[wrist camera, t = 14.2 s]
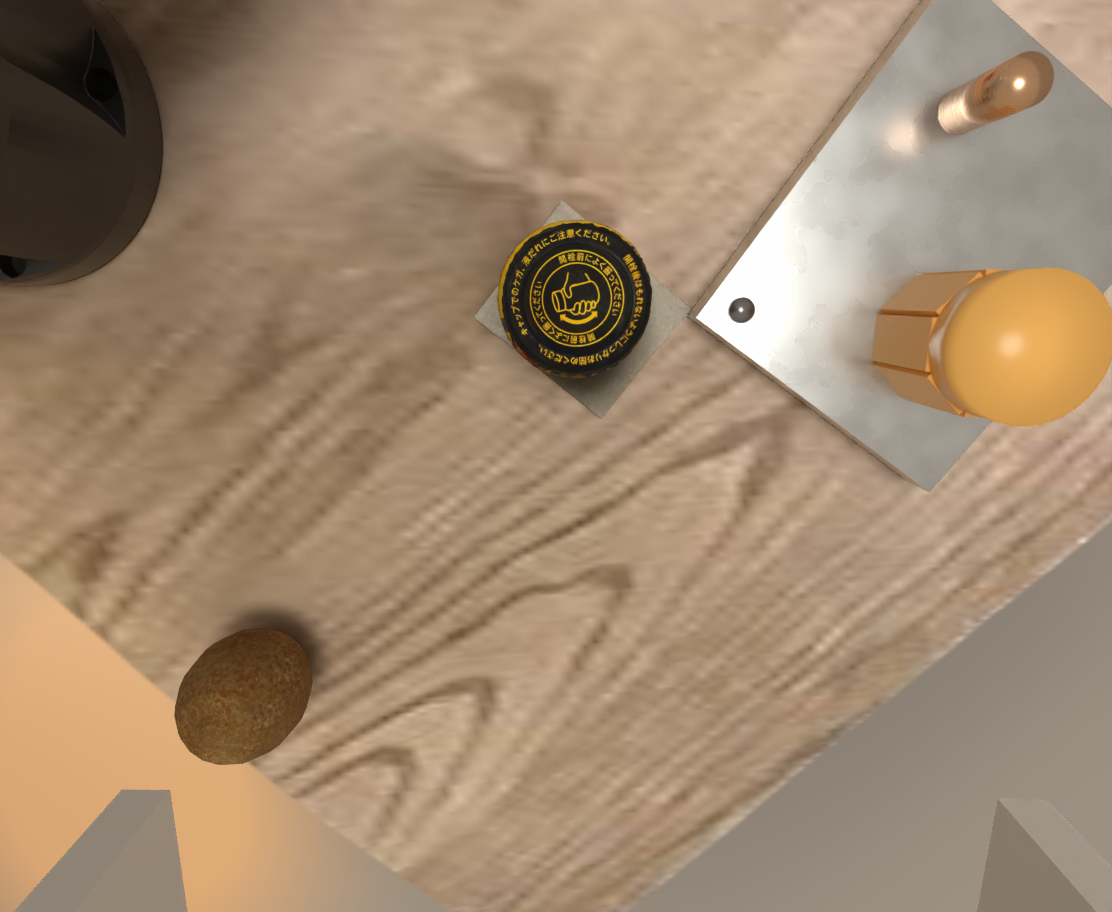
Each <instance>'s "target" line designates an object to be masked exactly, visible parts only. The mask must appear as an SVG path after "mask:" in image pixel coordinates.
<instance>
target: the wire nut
mask: <svg viewBox="0 0 1112 912" xmlns="http://www.w3.org/2000/svg"><path fill="white" fill-rule="evenodd" d="M880 310H881V311H882V312H883V314H877V317H876V326H875V335H874V344H873V352H872V361H877V362H876V363H875V364H874V365H873V366H874V367H875V368H876V369H877V371H878V372H879V373H880V374H881V375H882V376H883V377H884V379H885V380H886V381H887V382H888V383H889V384H890V385H891V387H892V388H893V389H894V390H895V391H896V392H897V393H898V394H899V396H900V397H901V398H904V399H906V400H909V401H912V402H916V403H919V404H922V405H925V406H929V407H932V408H935V409H939V410H942V411H945V412H949V413H952V414H955V415H959V416H962V417H982V418H985V419H988V420H992V421H995V422H999V423H1002V424H1007V425H1012V426H1034V425H1040V424H1044V423H1048V422H1051V421H1054V420H1056V419H1058V418H1061V417H1063V416H1064V415H1066V414H1068V413H1070V412H1071V411H1073V410H1074V409H1076V408H1077V407H1078V406H1080V405H1081V404H1082V403H1083V402H1084V401H1085V400H1086V399H1087V398H1088V397H1089V396H1090V395H1091V394H1092V393H1093V392H1094V391H1095V389H1096V388H1097V387H1098V385H1099V384H1100V382H1101V381H1102V379H1103V378H1104V376H1105V374H1106V372H1107V370H1108V367H1109V365H1110V362H1111V360H1112V311H1111V308H1110V306H1109V304H1108V302H1107V300H1106V298H1105V297H1104V295H1103V294H1102V292H1101V291H1100V290H1099V289H1098V288H1097V287H1096V286H1095V285H1094V284H1093V283H1092V282H1090V281H1089V280H1088V279H1086V278H1084V277H1083V276H1081V275H1079V274H1077V273H1074V272H1072V271H1069V270H1064V269H1060V268H1034V269H1017V270H995V269H985V270H969V271H953V272H936V273H922V275H917V276H915V277H914V278H913V279H912V280H911V281H910V282H909V283H908V284H907V285H905V286H904V287H903V288H902V289H901V290H900V291H899V292H898V293H897V294H895V295H894V296H893V297H892V298H891V299H890V300H889V301H888V302H887V303H886V304H884V305H883V306H882V307H881V308H880Z"/></svg>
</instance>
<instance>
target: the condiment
mask: <svg viewBox="0 0 1112 912" xmlns="http://www.w3.org/2000/svg"><path fill="white" fill-rule="evenodd" d="M642 260H643V259H642V258H641V257H640V255H639V253H638V252H637V250H636V249H635V247H634V246H633V245H632V244H631V242H629V241H628V240H626V239H625V238H624V237H623V236H622V235H620V234H619V233H618V232H616V231H615V230H613V229H611V228H610V227H608V226H604V225H601V224H598V223H594V222H590V221H586V220H585V219H584V218H583V217H582V216H580V215H579V214H578V213H577V212H576V211H575V210H573V209H572V208H571V207H570V206H569V205H568V204H566V203H565V202H564V201H563V200H562V201H561V202H560V204H559V205H558V206H557V208H556V209H555V210H554V212H553V213H552V214H551V216H550V217H549V218H548V219H547V221H546V222H545V224H544V225H543V226H542V228H540V229H538V230H536V231H534V232H533V233H531V234H530V235H529V236H528V237H527V238H526V239H525V240H523V241H522V242H521V243H520V244H519V245H518V246H517V247H516V248H515V249H514V250H513V251H512V253H511V255H510V256H509V258H508V260H507V263H506V264H505V266H504V268H503V271H502V273H501V275H500V282H499V285H498V286H497V287H496V288H495V290H494V291H493V293H492V294H491V295H490V297H489V298H488V299H487V300H486V302H485V303H484V304H483V306H482V307H481V308H480V310H479V311H478V312H477V314H476V315H475V316H474V318H475V319H477V320H478V321H479V322H480V323H482V324H483V325H484V326H485V327H487V328H488V329H489V330H491V331H492V332H493V333H494V334H496V335H497V336H498V337H499V338H501V339H502V340H503V341H504V342H506V343H507V344H508V345H509V346H511V347H512V348H513V349H515V350H516V351H517V352H518V353H519V354H520V355H522V356H523V357H524V358H525V359H526V360H527V361H528V362H530V363H531V364H532V365H533V366H535V367H537V368H538V369H539V370H541V371H542V372H543V373H544V374H546V375H547V376H548V377H549V378H551V379H552V380H553V381H555V382H556V383H557V384H558V385H560V386H561V387H562V388H563V389H564V390H566V391H567V392H568V393H570V394H571V395H572V396H573V397H575V398H576V399H577V400H578V401H580V402H581V403H582V404H583V405H585V406H586V407H587V408H588V409H589V410H591V411H592V412H593V413H595V414H596V415H597V416H598V417H600V418H602V417H603V416H604V415H605V413H606V412H607V411H608V410H609V408H610V407H611V406H612V404H613V403H614V402H615V401H616V400H617V398H618V397H619V396H620V395H621V393H622V392H623V391H624V390H625V388H626V387H627V386H628V385H629V384H630V382H631V381H632V380H633V379H634V377H635V376H636V375H637V373H638V372H639V371H640V370H641V369H642V368H643V366H644V365H645V364H646V363H647V362H648V360H649V359H650V358H651V356H652V355H653V354H654V353H655V352H656V351H657V349H658V348H659V347H660V346H661V344H662V343H663V342H664V341H665V340H666V339H667V337H668V336H669V335H670V334H671V332H672V331H673V330H674V329H675V327H676V326H677V325H678V324H679V323H680V322H681V320H682V319H683V318H684V317H685V316H686V314H687V313H688V312H689V311H690V309H691V308H690V307H689V306H687V305H686V304H685V303H684V302H683V301H682V300H680V299H679V298H678V297H677V296H676V295H674V294H673V293H672V292H671V291H670V290H668V289H667V288H666V287H665V286H664V285H663V284H662V283H660V282H659V281H658V280H656V279H655V278H654V277H653V276H652V275H651V274H650V273H648V272H647V270H646V267H645V264H644V262H643V261H642Z"/></svg>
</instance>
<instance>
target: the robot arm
mask: <svg viewBox="0 0 1112 912" xmlns="http://www.w3.org/2000/svg"><path fill="white" fill-rule="evenodd" d="M161 156H162V138H161V126H160V119H159V113H158V108H157V103H156V100H155V96H154V92H153V89H152V86H151V83H150V80H149V78H148V75H147V73H146V70H145V68H144V66H143V64H142V62H141V60H140V58H139V56H138V54H137V52H136V50H135V48H134V47H133V45H132V43H131V41H130V40H129V38H128V37H127V35H126V34H125V32H124V31H123V29H122V28H121V27H120V26H119V24H118V23H117V22H116V20H115V19H114V18H113V17H112V15H111V14H110V13H109V12H108V11H107V10H106V9H105V8H104V7H103V6H102V5H101V3H100V2H99V1H98V0H0V285H16V286H41V285H52V284H57V283H62V282H66V281H70V280H73V279H76V278H79V277H82V276H84V275H86V274H88V273H90V272H92V271H94V270H96V269H98V268H100V267H101V266H103V265H104V264H106V263H107V262H108V261H110V260H111V259H112V258H114V257H115V256H116V255H117V254H118V253H119V252H120V251H121V250H122V249H123V248H124V247H125V246H126V245H127V244H128V243H129V242H130V240H131V239H132V238H133V237H134V235H135V234H136V232H137V231H138V230H139V228H140V226H141V225H142V223H143V221H144V220H145V217H146V215H147V213H148V211H149V209H150V207H151V204H152V201H153V199H154V195H155V192H156V189H157V184H158V180H159V175H160V168H161ZM14 912H187V907H186V899H185V892H184V886H183V878H182V871H181V864H180V857H179V851H178V843H177V836H176V829H175V822H174V815H173V809H172V801H171V794H170V790H121V791H120V793H119V794H118V795H117V796H116V797H115V798H114V799H113V801H112V802H111V803H110V804H109V805H108V806H107V807H106V808H105V810H104V811H103V812H102V813H101V814H100V815H99V817H97V819H96V820H95V821H94V822H93V823H92V824H91V825H90V826H89V828H88V829H87V830H86V831H85V832H84V833H83V835H82V836H81V837H80V838H79V839H78V840H77V841H76V842H75V843H74V844H73V846H72V847H71V848H70V849H69V850H68V851H67V852H66V854H65V855H64V856H63V857H62V858H61V859H60V860H59V861H58V863H57V864H56V865H55V866H54V867H53V868H52V869H51V870H50V872H49V873H48V874H47V875H46V876H45V877H44V878H43V879H42V881H41V882H40V883H39V884H38V885H37V886H36V887H35V888H34V890H33V891H32V892H31V893H30V894H29V895H28V896H27V898H26V899H25V900H24V901H23V902H22V903H21V904H20V906H19V907H18V908H17V909H16V910H15V911H14ZM977 912H1112V867H1111V866H1110V865H1109V864H1108V863H1107V862H1106V861H1105V860H1104V859H1103V858H1102V857H1101V856H1100V855H1099V854H1098V853H1097V851H1096V850H1095V849H1094V848H1093V847H1092V846H1091V845H1090V844H1089V843H1088V842H1087V841H1086V840H1085V839H1084V838H1083V837H1082V836H1081V835H1080V834H1079V833H1078V832H1077V831H1076V830H1075V829H1074V827H1072V826H1071V824H1070V823H1068V821H1067V820H1066V819H1065V818H1064V817H1063V816H1062V815H1061V814H1060V813H1059V812H1058V811H1057V810H1056V809H1055V808H1054V807H1053V806H1052V805H1051V804H1050V803H1049V802H1048V801H1047V800H1046V799H998V800H997V806H996V811H995V817H994V822H993V828H992V834H991V839H990V844H989V850H988V856H987V861H986V866H985V872H984V877H983V883H982V888H981V894H980V899H979V905H978V910H977Z"/></svg>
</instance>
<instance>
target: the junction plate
mask: <svg viewBox="0 0 1112 912" xmlns="http://www.w3.org/2000/svg"><path fill="white" fill-rule="evenodd" d="M1034 268H1060V269H1064V270H1069V271H1072V272H1074V273H1077V274H1079V275H1081V276H1083V277H1084V278H1086V279H1088V280H1089V281H1090V282H1092V283H1093V284H1094V285H1095V286H1096V287H1097V288H1098V289H1099V290H1100V291H1101V292H1102V294H1103V293H1104V292H1105V291H1106V290H1107V289H1108V288H1109V287H1110V285H1111V284H1112V107H1110V106H1109V105H1108V104H1107V103H1106V102H1105V101H1104V100H1103V99H1101V98H1100V97H1099V96H1098V95H1097V94H1096V93H1095V92H1094V91H1092V90H1091V89H1090V88H1089V87H1088V86H1087V85H1086V84H1085V83H1083V82H1082V81H1081V80H1080V79H1079V78H1078V77H1077V76H1076V75H1074V74H1073V73H1072V72H1071V71H1070V70H1069V69H1068V68H1067V67H1065V66H1064V65H1063V64H1062V63H1061V62H1060V61H1059V60H1058V59H1056V58H1055V57H1054V56H1053V55H1052V54H1051V53H1050V52H1049V51H1047V50H1046V49H1045V48H1044V47H1043V46H1042V45H1041V44H1040V43H1038V42H1037V41H1036V40H1035V39H1034V38H1033V37H1032V36H1031V35H1029V34H1028V33H1027V32H1026V31H1025V30H1024V29H1023V28H1022V27H1020V26H1019V25H1018V24H1017V23H1016V22H1015V21H1014V20H1013V19H1011V18H1010V17H1009V16H1008V15H1007V14H1006V13H1005V12H1004V11H1002V10H1001V9H1000V8H999V7H998V6H997V5H996V4H995V3H993V2H992V1H991V0H921V1H920V3H919V4H918V5H917V7H916V8H915V9H914V11H913V12H912V14H911V15H910V16H909V18H908V19H907V20H906V22H905V23H904V24H903V26H902V27H901V28H900V30H899V31H898V32H897V34H896V35H895V36H894V38H893V39H892V41H891V42H890V43H889V45H888V46H887V47H886V49H885V50H884V51H883V53H882V54H881V55H880V57H879V58H878V59H877V61H876V62H875V63H874V65H873V66H872V67H871V69H870V70H869V72H868V73H867V74H866V76H865V77H864V78H863V80H862V81H861V82H860V84H859V85H858V86H857V88H856V89H855V90H854V92H853V93H852V94H851V96H850V97H849V99H848V100H847V101H846V103H845V104H844V105H843V107H842V108H841V109H840V111H839V112H838V113H837V115H836V116H835V117H834V119H833V120H832V121H831V123H830V124H829V125H828V127H827V128H826V130H825V131H824V132H823V134H822V135H821V136H820V138H819V139H818V140H817V142H816V143H815V144H814V146H813V147H812V148H811V150H810V151H809V152H808V154H807V155H806V157H805V158H804V159H803V161H802V162H801V163H800V165H799V166H798V167H797V169H796V170H795V171H794V173H793V174H792V175H791V177H790V178H789V179H788V181H787V182H786V183H785V185H784V186H783V188H782V189H781V190H780V192H779V193H778V194H777V196H776V197H775V198H774V200H773V201H772V202H771V204H770V205H769V206H768V208H767V209H766V210H765V212H764V213H763V215H762V216H761V217H760V219H759V220H758V221H757V223H756V224H755V225H754V227H753V228H752V229H751V231H750V232H749V233H748V235H747V236H746V237H745V239H744V240H743V241H742V243H741V244H740V246H739V247H738V248H737V250H736V251H735V252H734V254H733V255H732V256H731V258H730V259H729V260H728V262H727V263H726V264H725V266H724V267H723V268H722V270H721V271H720V273H719V274H718V275H717V277H716V278H715V279H714V281H713V282H712V283H711V285H710V286H709V287H708V289H707V290H706V291H705V293H704V294H703V295H702V297H701V298H700V299H699V301H698V302H697V304H696V305H695V306H694V308H693V309H692V310H691V312H690V313H689V314H688V317H689V318H690V319H692V320H693V321H694V322H696V323H697V324H698V325H700V326H701V327H702V328H704V329H705V330H706V331H708V332H709V333H710V334H712V335H713V336H714V337H716V338H717V339H718V340H720V341H721V342H722V343H724V344H725V345H726V346H728V347H729V348H730V349H732V350H733V351H734V352H736V353H737V354H738V355H740V356H741V357H742V358H744V359H745V360H746V361H748V362H749V363H750V364H752V365H753V366H754V367H756V368H757V369H758V370H760V371H761V372H762V373H764V374H765V375H766V376H768V377H769V378H770V379H772V380H773V381H774V382H776V383H777V384H778V385H780V386H781V387H782V388H784V389H785V390H786V391H788V392H789V393H790V394H792V395H793V396H794V397H796V398H797V399H798V400H800V401H801V402H802V403H804V404H805V405H806V406H808V407H809V408H810V409H812V410H813V411H814V412H816V413H817V414H818V415H820V416H821V417H822V418H824V419H825V420H826V421H828V422H829V423H830V424H832V425H833V426H834V427H836V428H837V429H838V430H840V431H841V432H842V433H844V434H845V435H846V436H848V437H849V438H850V439H852V440H853V441H854V442H856V443H857V444H858V445H860V446H861V447H862V448H864V449H865V450H866V451H868V452H869V453H870V454H872V455H873V456H874V457H876V458H877V459H878V460H880V461H881V462H882V463H884V464H885V465H886V466H888V467H889V468H890V469H892V470H893V471H894V472H896V473H897V474H898V475H900V476H901V477H902V478H904V479H905V480H907V481H909V482H911V483H913V484H915V485H916V486H918V487H920V488H922V489H924V490H926V491H928V492H930V491H931V490H932V489H933V488H934V487H935V486H936V484H937V483H938V482H939V481H940V480H941V479H942V478H943V476H944V475H945V474H946V473H947V472H948V471H949V470H950V468H951V467H952V466H953V465H954V464H955V463H956V462H957V460H958V459H959V458H960V457H961V456H962V455H963V454H964V452H965V451H966V450H967V449H968V448H969V447H970V446H971V444H972V443H973V442H974V441H975V440H976V439H977V438H978V436H979V435H980V434H981V433H982V432H983V431H984V429H985V428H986V427H987V426H988V425H989V424H990V423H991V421H992V420H988V419H985V418H982V417H962V416H959V415H955V414H952V413H949V412H945V411H942V410H939V409H935V408H932V407H929V406H925V405H922V404H919V403H916V402H912V401H909V400H906V399H904V398H901V397H900V396H899V394H898V393H897V392H896V391H895V390H894V389H893V388H892V387H891V385H890V384H889V383H888V382H887V381H886V380H885V379H884V377H883V376H882V375H881V374H880V373H879V372H878V371H877V369H876V368H875V367H874V366H873V365H874V364H875V363H876V362H877V361H872V352H873V344H874V335H875V326H876V317H877V314H883V312H882V311H881V310H880V308H881V307H882V306H883V305H884V304H886V303H887V302H888V301H889V300H890V299H891V298H892V297H893V296H894V295H895V294H897V293H898V292H899V291H900V290H901V289H902V288H903V287H904V286H905V285H907V284H908V283H909V282H910V281H911V280H912V279H913V278H914V277H915V276H917V275H922V273H936V272H953V271H969V270H985V269H995V270H1017V269H1034Z"/></svg>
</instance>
